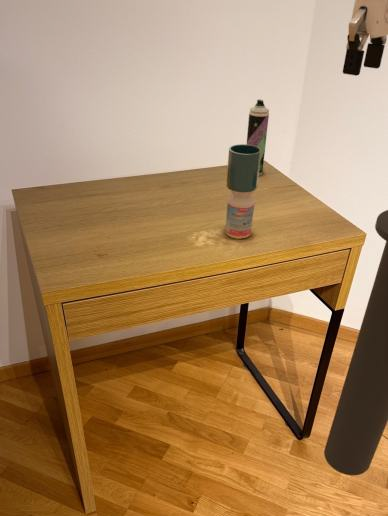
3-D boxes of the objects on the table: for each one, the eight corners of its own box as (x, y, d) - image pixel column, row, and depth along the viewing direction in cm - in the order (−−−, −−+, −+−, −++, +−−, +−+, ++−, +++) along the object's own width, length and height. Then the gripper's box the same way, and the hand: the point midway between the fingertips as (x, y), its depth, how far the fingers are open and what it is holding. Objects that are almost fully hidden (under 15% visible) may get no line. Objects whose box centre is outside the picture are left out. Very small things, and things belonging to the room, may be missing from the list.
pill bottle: (229, 240, 113) (233, 192, 106) (222, 228, 117) (225, 182, 110) (254, 238, 114) (259, 191, 107) (246, 227, 118) (251, 180, 111)
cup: (248, 179, 112) (252, 143, 107) (262, 190, 107) (267, 152, 102) (221, 182, 110) (223, 145, 105) (234, 194, 105) (237, 155, 100)
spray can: (241, 170, 149) (247, 98, 136) (257, 169, 150) (265, 97, 138) (248, 177, 145) (255, 103, 132) (265, 175, 146) (273, 101, 134)
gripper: (387, -42, 77) (361, 80, 88) (423, -41, 88) (396, 67, 99) (342, -43, 81) (323, 74, 92) (382, -43, 92) (361, 62, 102)
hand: (361, 70), depth 95 cm, fingers open, 9 cm apart
